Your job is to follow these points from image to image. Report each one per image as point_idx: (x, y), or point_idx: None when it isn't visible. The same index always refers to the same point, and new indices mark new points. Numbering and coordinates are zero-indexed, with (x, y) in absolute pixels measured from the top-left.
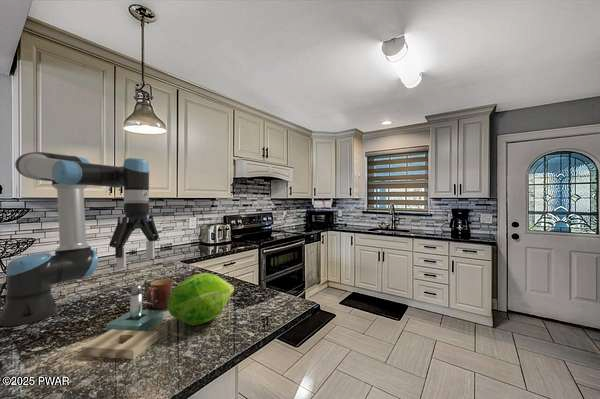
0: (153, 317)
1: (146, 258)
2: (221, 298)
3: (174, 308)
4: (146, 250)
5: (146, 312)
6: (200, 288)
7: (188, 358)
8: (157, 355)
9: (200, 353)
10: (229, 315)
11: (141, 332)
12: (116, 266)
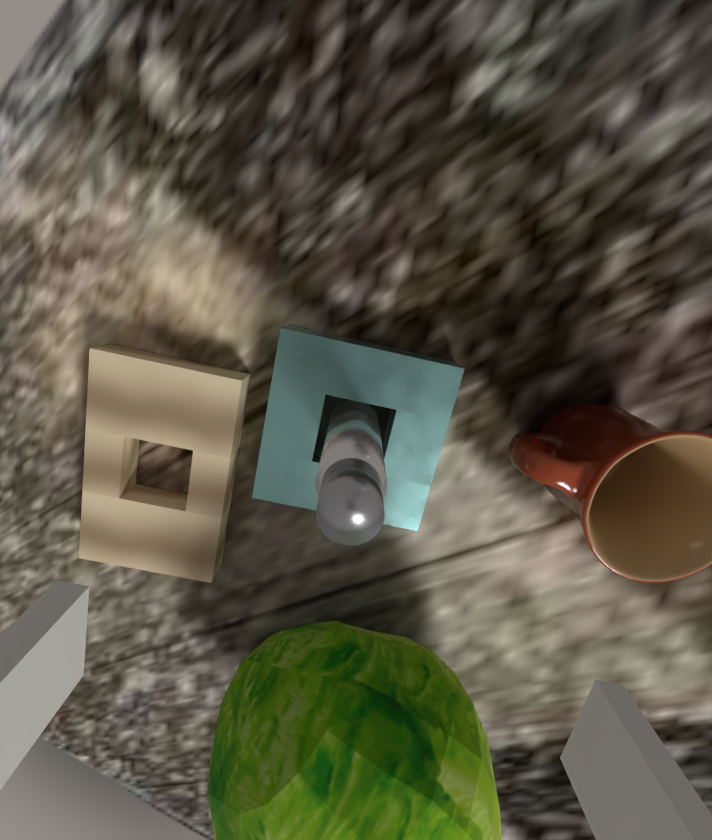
0: None
1: (596, 681)
2: None
3: (224, 696)
4: (675, 817)
5: (405, 460)
6: None
7: (111, 687)
8: (123, 600)
9: (138, 710)
10: None
11: (208, 524)
12: (50, 588)
